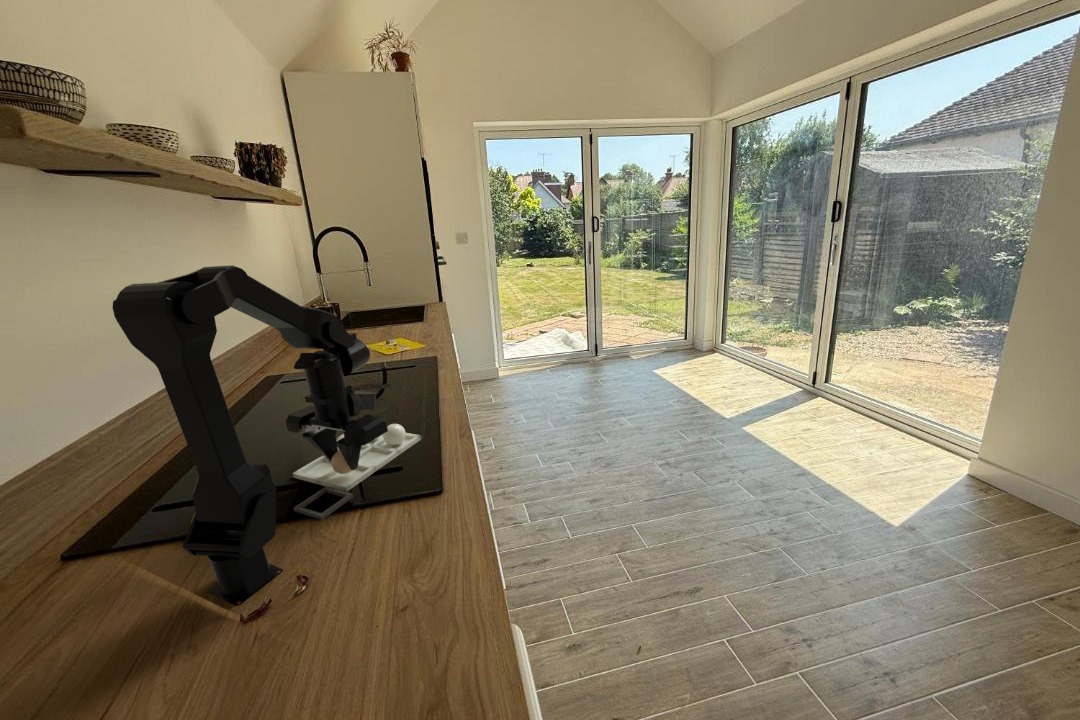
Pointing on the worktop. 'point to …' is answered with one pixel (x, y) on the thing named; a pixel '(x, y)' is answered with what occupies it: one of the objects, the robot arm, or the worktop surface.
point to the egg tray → (369, 462)
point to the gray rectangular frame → (321, 516)
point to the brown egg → (340, 464)
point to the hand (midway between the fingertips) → (345, 466)
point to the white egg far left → (394, 434)
